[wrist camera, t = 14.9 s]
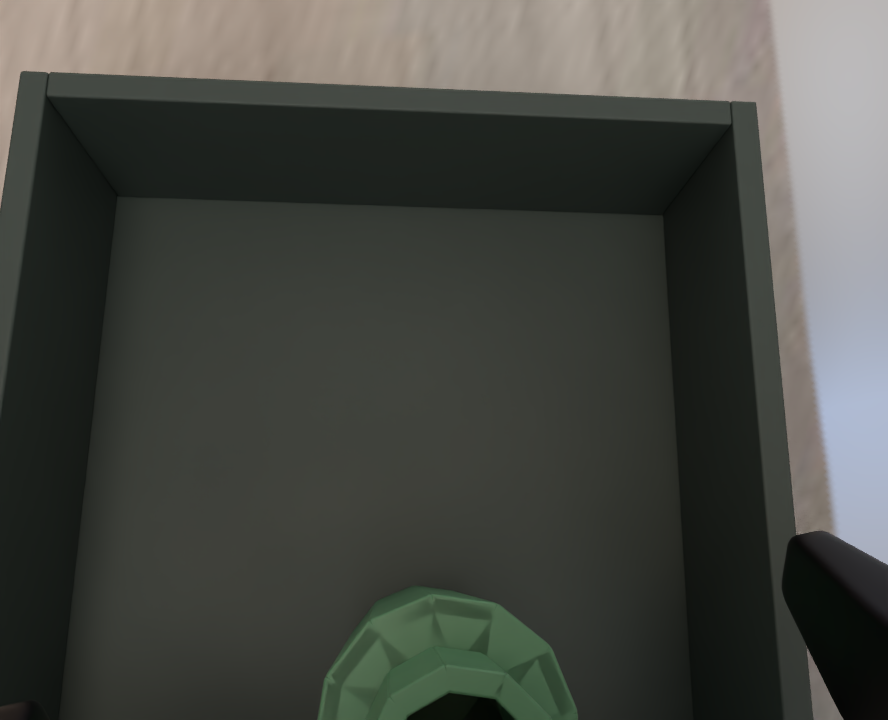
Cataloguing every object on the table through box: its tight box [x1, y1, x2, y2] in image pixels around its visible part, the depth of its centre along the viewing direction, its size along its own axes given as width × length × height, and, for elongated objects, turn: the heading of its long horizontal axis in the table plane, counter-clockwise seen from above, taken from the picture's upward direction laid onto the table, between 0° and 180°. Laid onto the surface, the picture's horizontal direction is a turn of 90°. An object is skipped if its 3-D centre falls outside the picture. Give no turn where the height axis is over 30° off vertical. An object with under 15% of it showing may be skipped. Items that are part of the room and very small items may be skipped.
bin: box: [0, 71, 813, 720], centre depth 19 cm, size 16×16×6 cm
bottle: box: [317, 585, 578, 720], centre depth 15 cm, size 4×4×12 cm
